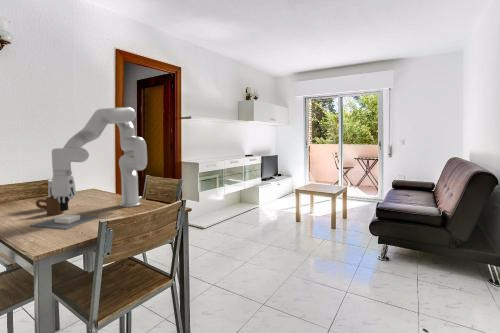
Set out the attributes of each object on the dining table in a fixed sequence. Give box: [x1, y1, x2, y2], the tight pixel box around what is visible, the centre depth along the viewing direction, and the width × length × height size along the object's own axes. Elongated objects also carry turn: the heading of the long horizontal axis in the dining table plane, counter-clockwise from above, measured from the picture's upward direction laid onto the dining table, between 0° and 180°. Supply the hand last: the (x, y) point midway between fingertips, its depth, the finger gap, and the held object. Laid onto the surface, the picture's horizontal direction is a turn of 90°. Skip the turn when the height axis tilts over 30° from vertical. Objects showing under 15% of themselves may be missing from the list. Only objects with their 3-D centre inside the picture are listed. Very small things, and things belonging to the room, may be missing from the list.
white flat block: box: [53, 213, 81, 224], centre depth 140 cm, size 7×2×8 cm
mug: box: [35, 196, 64, 216], centre depth 153 cm, size 12×8×9 cm, turn 130°
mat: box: [29, 215, 99, 230], centre depth 140 cm, size 20×20×1 cm
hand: (64, 210), depth 140 cm, fingers closed
